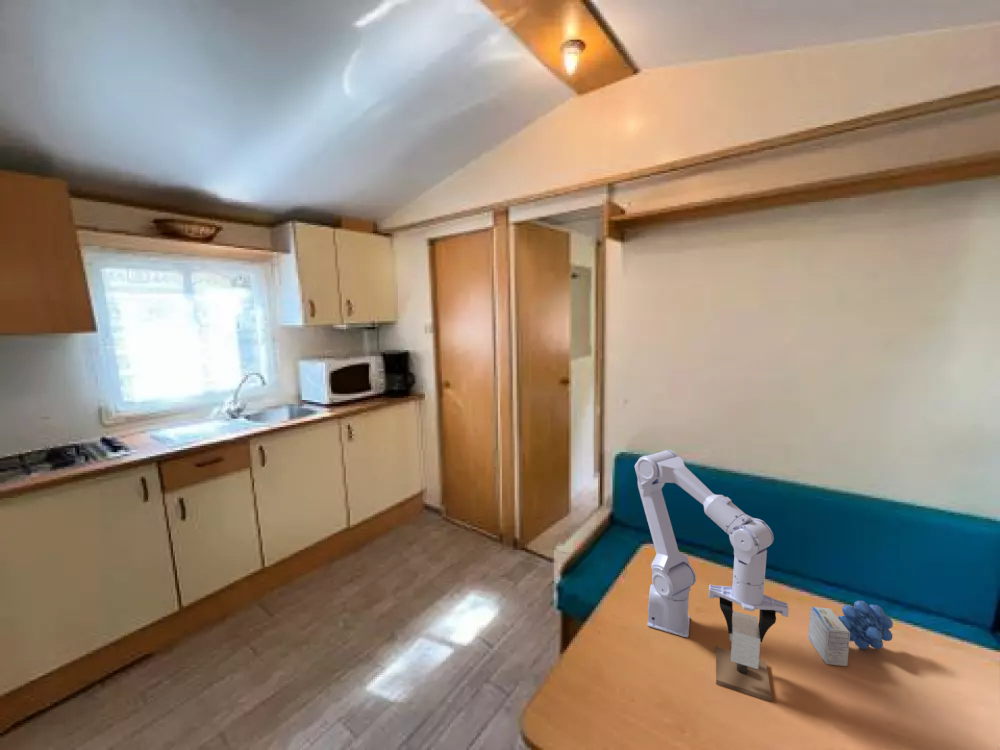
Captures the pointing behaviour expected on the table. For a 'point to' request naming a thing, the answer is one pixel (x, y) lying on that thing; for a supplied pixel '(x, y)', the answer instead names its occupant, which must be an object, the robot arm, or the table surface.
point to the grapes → (866, 624)
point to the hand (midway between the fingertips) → (744, 634)
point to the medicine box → (829, 636)
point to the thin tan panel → (742, 675)
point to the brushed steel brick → (745, 639)
